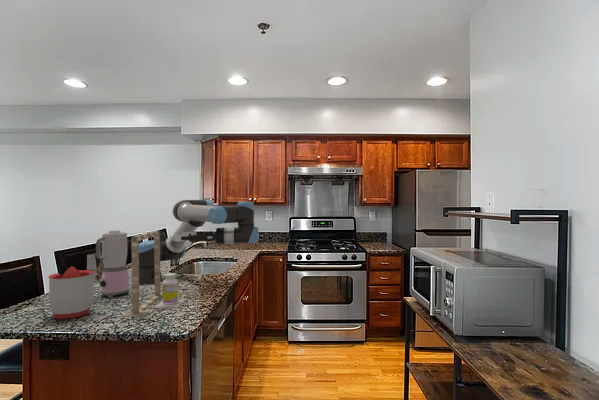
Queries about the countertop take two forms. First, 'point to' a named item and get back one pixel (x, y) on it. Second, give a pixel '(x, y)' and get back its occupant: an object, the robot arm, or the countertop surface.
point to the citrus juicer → (71, 293)
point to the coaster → (176, 305)
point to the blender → (113, 263)
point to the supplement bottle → (170, 289)
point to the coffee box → (95, 266)
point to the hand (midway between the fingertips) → (178, 236)
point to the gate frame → (135, 275)
